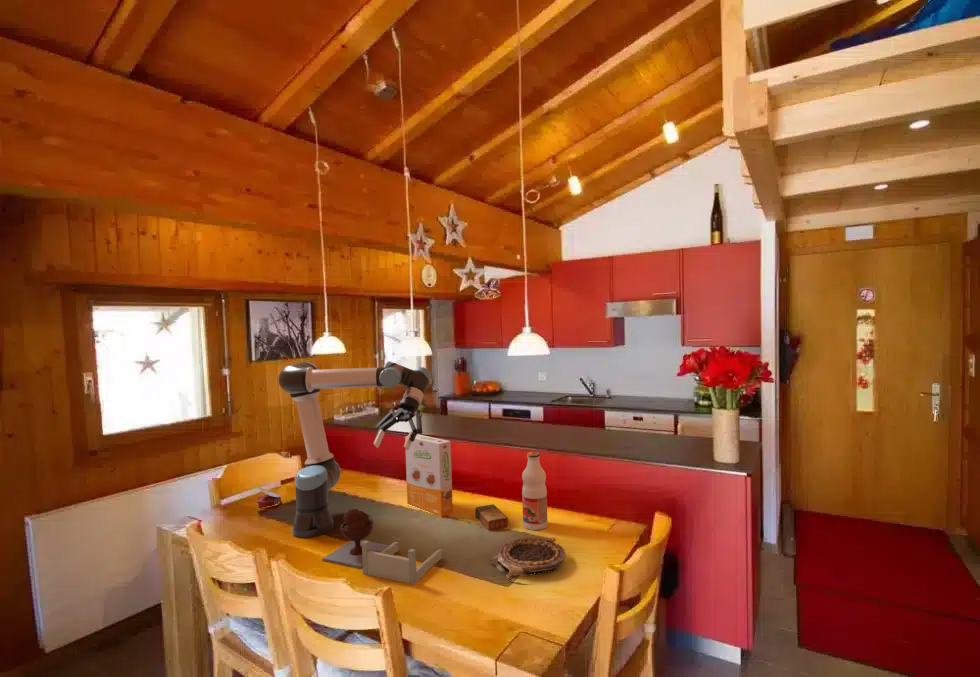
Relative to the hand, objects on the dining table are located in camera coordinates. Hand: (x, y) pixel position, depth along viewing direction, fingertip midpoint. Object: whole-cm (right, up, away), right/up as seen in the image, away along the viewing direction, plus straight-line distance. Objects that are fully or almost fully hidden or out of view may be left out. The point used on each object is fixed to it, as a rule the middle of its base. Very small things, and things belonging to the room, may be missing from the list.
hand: (390, 447), depth 184 cm
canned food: (-62, -34, +36) cm, 80 cm away
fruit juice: (+55, -31, +4) cm, 63 cm away
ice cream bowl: (-8, -33, -15) cm, 37 cm away
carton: (+38, -32, +9) cm, 50 cm away
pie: (+51, -32, -25) cm, 66 cm away
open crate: (+10, -33, -24) cm, 42 cm away
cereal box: (+12, -32, +25) cm, 42 cm away
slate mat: (-8, -33, -15) cm, 38 cm away
